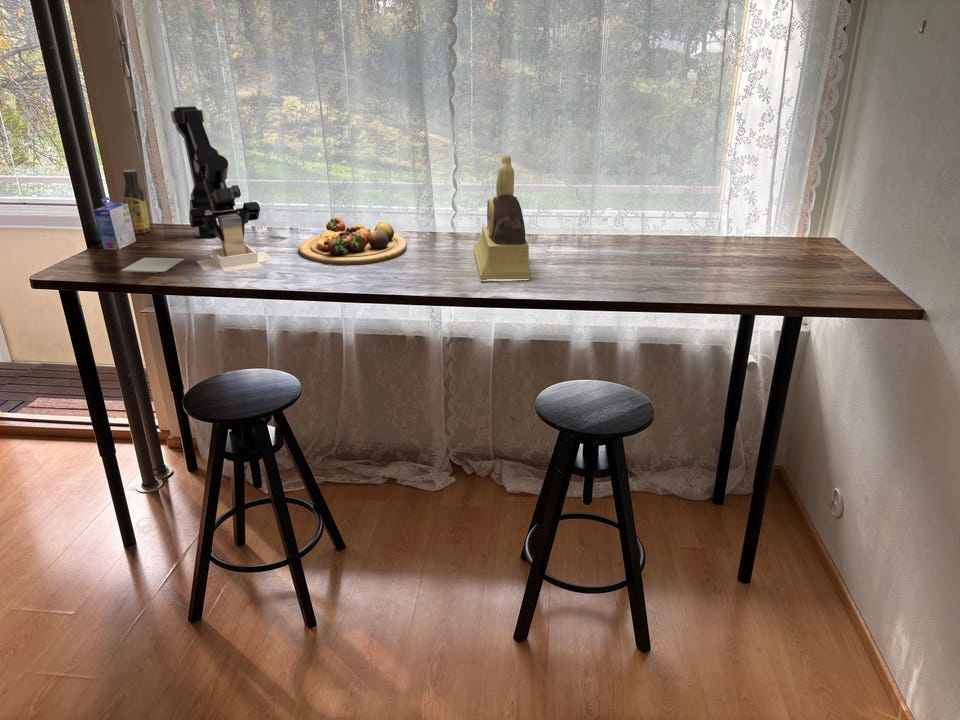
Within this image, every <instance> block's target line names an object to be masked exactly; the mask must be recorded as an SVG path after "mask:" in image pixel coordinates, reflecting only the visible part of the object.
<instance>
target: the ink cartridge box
mask: <svg viewBox="0 0 960 720" xmlns="http://www.w3.org/2000/svg"><path fill="white" fill-rule="evenodd" d="M100 201H101V202H102V204H103V206H101V207H98V208H95V209H94V210H93V213H94V216H95V220H96V224H97V228H98V232H99V236H100V240H101V243H102V248H103V250H110V251H111V250H112V251H113V250H114V251H118V250H121V249H123V248H126V247H127V246H130V245H131V244H134V243H136V242H137V239H136V234H134V230H133V225H132V221H131V217H130V212H129V208H128V204H127V203H124V202H113V201H112V199H110V198H109V197H108V196H106V197H103V198H101V199H100ZM106 201H107V202H106Z"/></svg>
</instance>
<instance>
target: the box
mask: <svg viewBox="0 0 960 720" xmlns="http://www.w3.org/2000/svg"><path fill="white" fill-rule="evenodd" d="M217 217H218V218H217V223H218V225H219V228H220V230H221V232H222V235H223V238H224V242H222V241H221V246H222V247H221V248H223V255H224V257H227V256H234V255H241V254H245V246H244V245H245V241H244V240H245V238H244V239H243V231H242V221H241V217H240V216H239V215H237V214H229V215H220V216H217Z"/></svg>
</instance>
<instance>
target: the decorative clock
mask: <svg viewBox="0 0 960 720" xmlns="http://www.w3.org/2000/svg"><path fill="white" fill-rule="evenodd" d="M500 160H501V164H502V166H501V167H499V169H498V170H497V178H496V185H495V189H496V196H494V197H493V198H488V199H487V204H486V205H487V209H486V225H482V226H481V233H480V234H481V236H480V238H479V239H478V241H477V243H476V244H475V245H473V247H472V248H473V252H474V253H473V257H474V256H475V257H474V259H475V260H476V261H475V260H474V261H475V265H476V264H477V265H476V269H477V268H478V269H477V273H478V272H479V273H478V277H479V276H480V278H479V280H480V279H481V280H487V279H531V278H530V260H529V259H530V258H529V257H530V256H529V251H530V245H529V243H528V241H527V239H526V226H525V221H524V215H523V210H522V207H521V204H520V202H519V200H518V198H517V197H516V196H514V193H515V170H514V168H513V166H512V158H511V156H510V155H509V154H504V155H503V156H502V157H501V159H500Z"/></svg>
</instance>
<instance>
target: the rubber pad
mask: <svg viewBox="0 0 960 720" xmlns="http://www.w3.org/2000/svg"><path fill="white" fill-rule="evenodd" d="M184 260H185V258H176V257H175V258H174V257H173V258H169V257H168V258H167V257H143V258H141V259H139V260H137V261H135V262H133V263H131V264H130V265H128V266H126V267H124V268H123V269H121V272H126V273H128V272H131V273H157V272H162V273H165V271H168V270H169V269H171V268H172V267H174V266H176V265H177V264H179V263H181V262H182V261H184Z"/></svg>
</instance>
